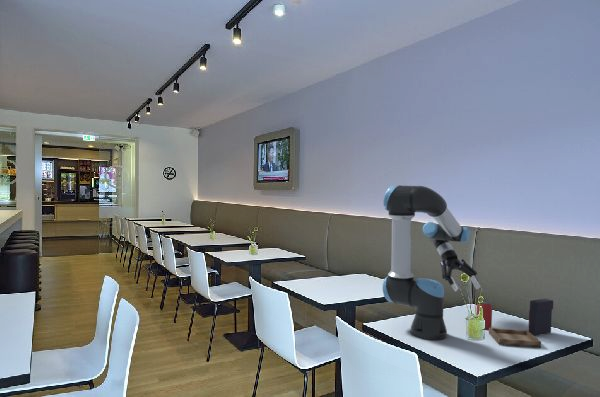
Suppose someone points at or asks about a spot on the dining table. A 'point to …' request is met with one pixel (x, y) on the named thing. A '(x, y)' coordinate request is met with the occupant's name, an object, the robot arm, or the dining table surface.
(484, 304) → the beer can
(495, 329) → the walnut tray
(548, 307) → the dark grey upright block
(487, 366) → the dining table surface
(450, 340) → the dining table surface
